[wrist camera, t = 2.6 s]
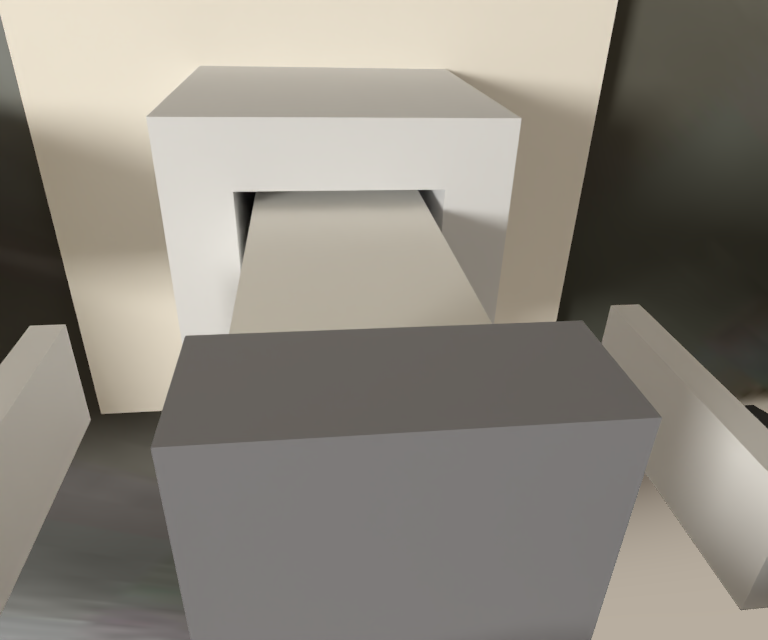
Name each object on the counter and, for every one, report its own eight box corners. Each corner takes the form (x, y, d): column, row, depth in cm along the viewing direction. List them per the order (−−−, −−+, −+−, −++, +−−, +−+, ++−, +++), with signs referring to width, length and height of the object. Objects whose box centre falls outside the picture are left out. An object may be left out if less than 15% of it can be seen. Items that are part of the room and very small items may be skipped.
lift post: (391, 82, 25) (680, 417, 6) (385, 278, 30) (541, 824, 11) (259, 81, 25) (127, 449, 6) (272, 281, 29) (226, 869, 10)
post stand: (624, -123, 24) (851, -190, 14) (533, 376, 36) (624, 529, 26) (-25, -159, 21) (-306, -274, 11) (109, 396, 33) (28, 578, 23)
